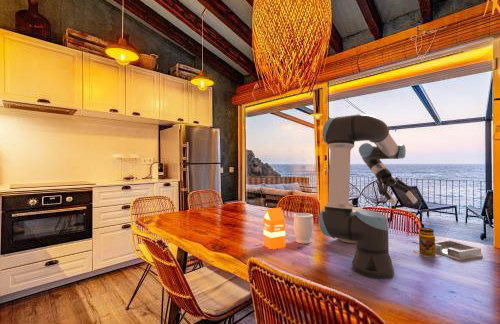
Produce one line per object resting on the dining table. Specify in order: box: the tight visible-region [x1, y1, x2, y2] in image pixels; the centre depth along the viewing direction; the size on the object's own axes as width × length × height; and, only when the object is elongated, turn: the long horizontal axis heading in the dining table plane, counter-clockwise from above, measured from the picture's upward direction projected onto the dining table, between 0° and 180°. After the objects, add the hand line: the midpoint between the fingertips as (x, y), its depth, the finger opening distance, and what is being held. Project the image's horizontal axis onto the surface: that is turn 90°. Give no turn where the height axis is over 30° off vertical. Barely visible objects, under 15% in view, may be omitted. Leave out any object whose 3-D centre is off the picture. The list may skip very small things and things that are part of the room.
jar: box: [293, 212, 314, 245], centre depth 137 cm, size 11×10×15 cm
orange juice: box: [263, 207, 286, 250], centre depth 130 cm, size 8×9×20 cm
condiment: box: [413, 227, 442, 258], centre depth 116 cm, size 7×8×12 cm
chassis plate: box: [435, 239, 484, 261], centre depth 116 cm, size 15×14×4 cm
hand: (405, 203), depth 127 cm, fingers open, 13 cm apart
